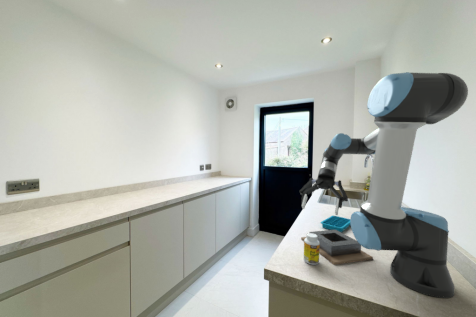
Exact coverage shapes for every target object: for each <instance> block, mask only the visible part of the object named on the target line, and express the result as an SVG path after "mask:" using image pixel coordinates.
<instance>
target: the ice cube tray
mask: <svg viewBox="0 0 476 317" xmlns="http://www.w3.org/2000/svg"><path fill="white" fill-rule="evenodd" d="M350 219H351V218H347V217H343V216H339V215H331V216H329V217H327V218H325V219H323V220H322V221H321V222H320V224H321V226H322V228H323V229H327V230H337V231H339V232H341V233H342V232H343V231H345V230H346V229H347V228H348V227H350V226H351V223H350ZM349 225H350V226H349Z"/></svg>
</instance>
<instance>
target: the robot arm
mask: <svg viewBox="0 0 476 317" xmlns="http://www.w3.org/2000/svg"><path fill="white" fill-rule="evenodd" d="M468 95H469V89H468V85H467V83H466V82H465V80H463V78H461V77H460V76H459V75H456V74H453V73H450V72H449V73H448V72H438V73H437V72H435V73H434V72H433V73H432V72H431V73H430V72H399V73H390V74H388V75H386V76H383V77H382V78H381V79H380V80H378V82H377V83H376V84H375V85H374V86H373V88H372V89H371V91H370V94H369V95H368V99H367V105H366V108H367V110H368V114H369V115H370V116H373V117H374V122H373V123H374V124H375V125H376V126H377V127H378V128H376V129H374V130H372V131H371V132H370V133H369V134H367V135H366V136H364V137H363V138H351V136H350V135H349V134H345V133H342V132H341V133H337V134H335V135H334V136H333V138H332V139H331V140H330V144H329V146H328V147H326V148H325V149H324V152H323V154H322V160H321V163H320V165H319V171H318V175H317V178H316V179H315V178H313V177H310V178H309V180H308V181H307V182H306V183H305V184H304V185H303V186H302V187H301V189H299V193H300V195H301V208H302V210H305V209H306V205H307V201H308V195H310V194H311V193H314V191H316V190H319V189H320V190H326V191H328V190H329V191H330V192H332V193H333V195H334V196H335V197H336V205H335V210H334V214H335V216H339V209H342V208H343V202H349V199H348V198H349V197H348V195H347V193H346V191H345V189H344V187H343V185H342V180H341V179H339V180H338V181H335V179H336V174H337V169H338V165H339V161H340V159H341V158H342V157H343V156H344V155H368V156H369V155H374V156H373V157H374V158H373V164H372V169H371V170H372V171H371V176H370V182H369V188H368V194H367V200H365V201H363V202H361V203H360V209H359V211H354V212H353V213H351V215H350V218H349V219H350V223H351V225H350V227H351V233H352V234H353V237H354V238H355V240H356V241H358V243H359V244H360V245H361V248H364V249H366V250H371V251H373V250H375V251H396V253H395V256H394V257H393V259H392V261H391V263H390V267H389V268H390V271H389V272H390V275H391V277H392V278H393V279H394V280H396V281H397V282H398V283H400V284H402V286H405V287H407V288H409V289H410V290H413V291H415V292H417V293H421V294H423V295H426V296H430V297H435V298H442V299H449V298H452V297H453V296H455V284H454V282H453V279H452V276H451V273H450V270H449V268H448V265H447V264H448V262H447V260H448V257H447V256H448V245H449V233H450V230H449V223H448V220H447V219H446V218H445V217H443V216H442V215H439V214H436V213H432V212H429V211H425V210H421V209H417V208H412V207H411V208H410V207H404V206H403V207H402V203H403V199H404V195H405V188H406V185H407V180H408V175H409V169H410V165H411V160H412V155H413V150H414V146H415V140H416V135H417V132H418V130H419V129H420V128H421V127H424V126H426V125H434V124H436V123H439V122H441V121H443V120H445V119H447V118H449V117H450V116H452V115H453V114H455V113H456V112H457V111H459V110H460V109H461V108H462V106H463V105H464V104H465V103H466V101H467V98H468ZM334 186H336V187H338V189H339V191H338V190H336V188H335V187H334ZM339 192H340V193H341V194H340V193H339Z"/></svg>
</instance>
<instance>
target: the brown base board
mask: <svg viewBox="0 0 476 317" xmlns="http://www.w3.org/2000/svg"><path fill="white" fill-rule="evenodd" d="M305 238H306V236H302V237H300V240H301V241H303V242H304V239H305ZM332 242H335V241H332ZM319 255H321V256H322V257H323V258H324V259H326V260H328V262H330V263H331V264H332V265H334V266H335V265H343V264H344V265H345V264H351V263H357V262H364V261H371V260H373V259H374V256H372V255H370V254H369V253H367V252H365V251H364V250H362V249H361V253H354V254H346V255H339V256H330V255H328V254H327V253H326V252H324V251H323V250H322V249H320V248H319Z"/></svg>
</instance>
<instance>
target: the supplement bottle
mask: <svg viewBox="0 0 476 317" xmlns="http://www.w3.org/2000/svg"><path fill="white" fill-rule="evenodd" d="M305 237H306V238H305V239H304V241H303V261H304V262H305V263H307V264H309V265H312V266H315V265H319V262H320V254H319V247H320V242H319V241H318V236H317V235H316V234H313V233H307V234H306V235H305Z"/></svg>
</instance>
